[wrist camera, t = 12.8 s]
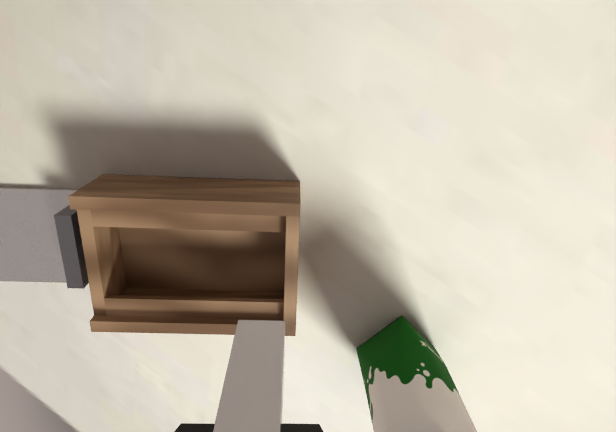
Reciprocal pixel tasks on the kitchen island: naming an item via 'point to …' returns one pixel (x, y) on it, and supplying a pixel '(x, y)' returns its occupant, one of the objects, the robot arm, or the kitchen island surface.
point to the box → (189, 252)
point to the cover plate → (40, 237)
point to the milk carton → (409, 384)
